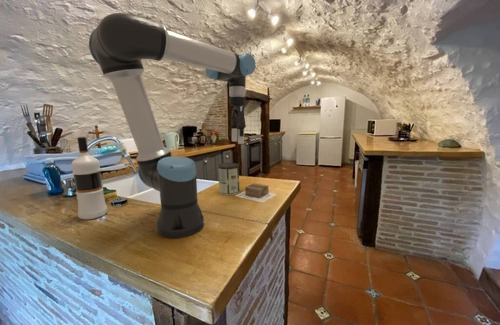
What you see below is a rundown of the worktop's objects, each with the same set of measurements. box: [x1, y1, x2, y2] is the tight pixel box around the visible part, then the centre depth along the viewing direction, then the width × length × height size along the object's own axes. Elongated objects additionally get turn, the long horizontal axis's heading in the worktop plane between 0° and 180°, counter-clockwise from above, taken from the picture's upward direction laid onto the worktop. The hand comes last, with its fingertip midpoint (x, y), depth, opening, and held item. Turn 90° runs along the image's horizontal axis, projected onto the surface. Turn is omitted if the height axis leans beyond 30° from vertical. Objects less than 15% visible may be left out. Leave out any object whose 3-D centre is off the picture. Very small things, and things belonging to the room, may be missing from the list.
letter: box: [234, 190, 278, 203], centre depth 104 cm, size 13×16×1 cm
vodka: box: [70, 136, 109, 221], centre depth 81 cm, size 9×9×30 cm
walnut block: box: [244, 182, 269, 198], centre depth 105 cm, size 8×8×4 cm
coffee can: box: [217, 162, 241, 196], centre depth 108 cm, size 10×10×14 cm
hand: (237, 142), depth 105 cm, fingers open, 13 cm apart
